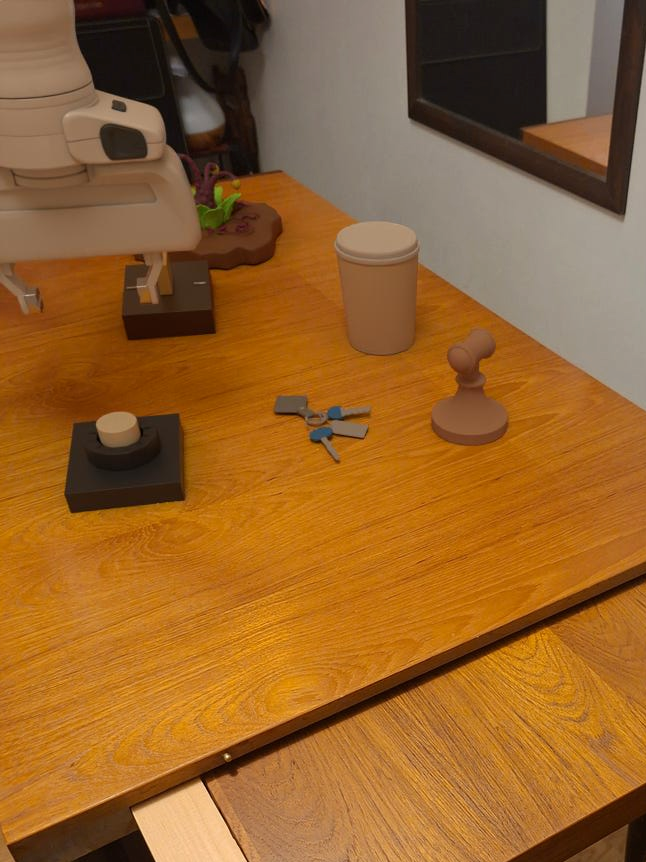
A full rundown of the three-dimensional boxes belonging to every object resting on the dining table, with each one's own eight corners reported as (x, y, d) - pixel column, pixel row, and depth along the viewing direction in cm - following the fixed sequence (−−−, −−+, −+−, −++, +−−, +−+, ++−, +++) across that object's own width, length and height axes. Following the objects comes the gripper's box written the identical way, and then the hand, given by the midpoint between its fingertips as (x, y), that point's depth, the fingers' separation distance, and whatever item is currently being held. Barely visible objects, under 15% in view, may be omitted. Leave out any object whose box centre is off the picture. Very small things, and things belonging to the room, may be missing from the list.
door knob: (527, 330, 88) (487, 363, 83) (521, 418, 95) (483, 453, 90) (458, 309, 91) (415, 340, 86) (456, 396, 98) (416, 430, 93)
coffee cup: (434, 332, 108) (434, 230, 100) (397, 366, 102) (393, 260, 94) (367, 315, 111) (361, 214, 102) (327, 347, 105) (317, 242, 96)
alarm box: (71, 514, 81) (57, 477, 78) (79, 442, 89) (67, 406, 86) (184, 501, 83) (176, 464, 80) (183, 431, 91) (175, 396, 88)
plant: (156, 211, 132) (138, 127, 124) (289, 216, 132) (280, 132, 125) (117, 267, 118) (94, 176, 110) (266, 273, 118) (253, 182, 110)
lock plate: (127, 340, 104) (121, 314, 102) (131, 288, 114) (125, 263, 112) (216, 333, 106) (211, 307, 104) (212, 283, 116) (207, 258, 114)
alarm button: (99, 450, 82) (94, 434, 81) (101, 429, 84) (96, 413, 83) (140, 446, 83) (136, 430, 82) (141, 425, 85) (137, 409, 84)
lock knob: (172, 294, 106) (165, 262, 104) (160, 295, 106) (153, 263, 103) (172, 276, 110) (166, 245, 107) (160, 277, 109) (154, 246, 107)
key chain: (262, 405, 95) (261, 398, 94) (328, 381, 99) (327, 374, 98) (336, 465, 88) (335, 458, 87) (404, 437, 92) (403, 430, 91)
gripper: (-121, 147, 63) (-45, 334, 72) (181, 133, 67) (215, 312, 76) (-104, 120, 67) (-34, 300, 77) (179, 108, 71) (212, 281, 81)
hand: (92, 306), depth 77 cm, fingers open, 8 cm apart
